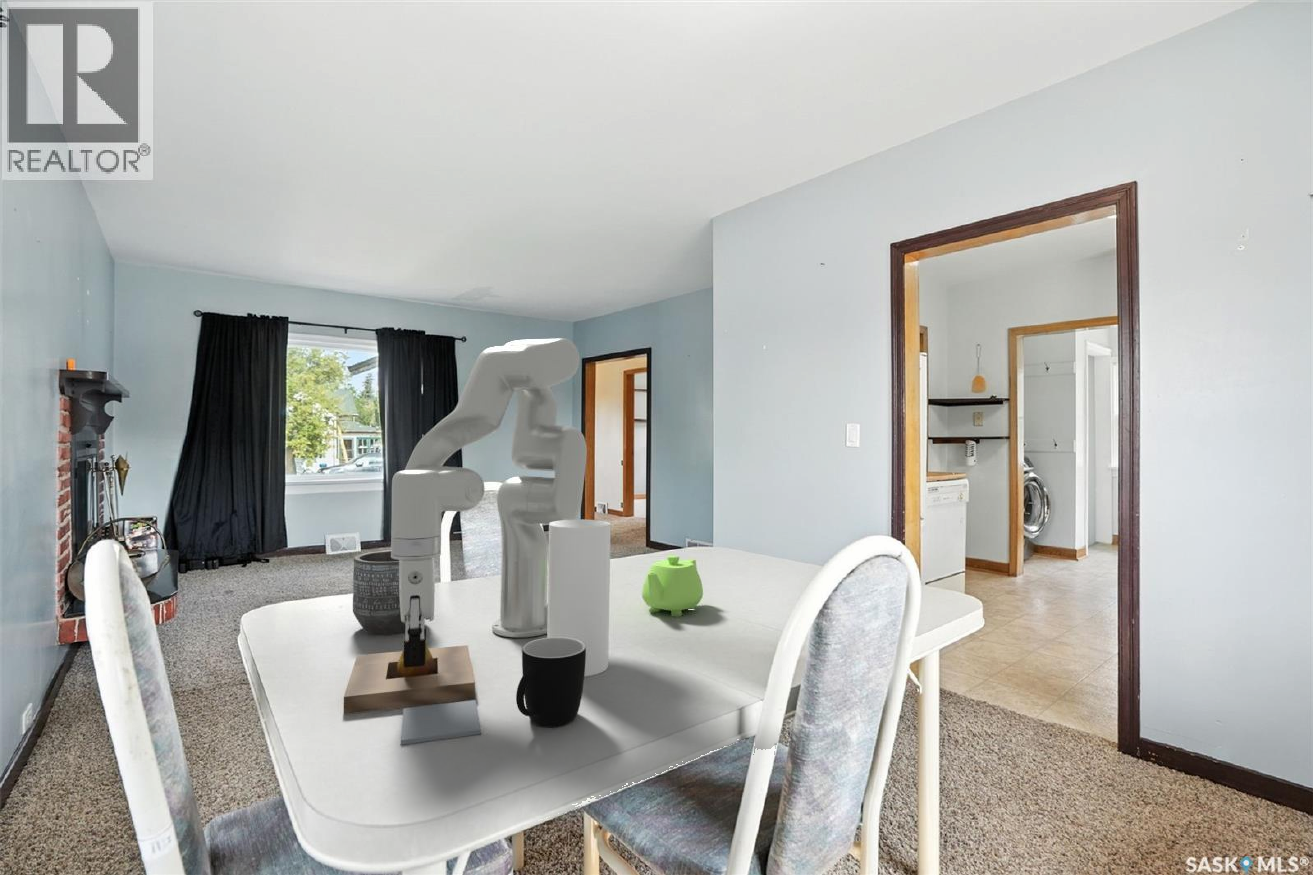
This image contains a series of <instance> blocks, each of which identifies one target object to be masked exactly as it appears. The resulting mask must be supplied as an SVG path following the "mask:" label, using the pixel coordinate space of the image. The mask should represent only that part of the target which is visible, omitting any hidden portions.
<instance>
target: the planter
mask: <svg viewBox="0 0 1313 875" xmlns="http://www.w3.org/2000/svg"><path fill="white" fill-rule="evenodd" d="M352 578H353V579H352V580H353V581H352V588H353V590H352V591H353V593H352V612H353V615H354V616H355V619H356V620H357V622H358V623H359V625H360V626H361V628H362V629H363V630H364V631H365V632H366V633H368V634H370V635H371V634H372V635H384V636H385V635H395V634H400V633H405V630H406V624H405V623H403V622H402V621H401V614H400V600H399V560H397V559H393V558H391V549H387V550H377V551H369V552H363V553H360V554H358V555H355V556H354V558H353V576H352ZM405 622H406V621H405Z"/></svg>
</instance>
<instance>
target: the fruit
mask: <svg viewBox="0 0 1313 875" xmlns="http://www.w3.org/2000/svg"><path fill="white" fill-rule="evenodd" d="M424 618H425V617H424ZM419 627H420V628H421V625H420V624H419ZM420 637H421V634H420ZM424 639H425V637H424ZM420 640H421V638H420ZM429 649H430V648H429V646H428V644H427V643H426V656H425V665H424V666H416V667H404V648H403V649H402V651H403V652H402V654H401V656H400V658H399V661H398V664H397V674H398V677H397V678H404V677H414V676H423V675H433V673H432V671H433V667H434V661H433V657H432V654H431V652H430V650H429Z"/></svg>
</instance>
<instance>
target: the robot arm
mask: <svg viewBox="0 0 1313 875" xmlns="http://www.w3.org/2000/svg"><path fill="white" fill-rule="evenodd" d="M579 365H580V353H579V350H578V348H577V346H576V345H575V344H574V343H573V341H571V340H570V339H569V338H568V339H567V338H565V337H564V338H562V337H561V338H559V337H558V338H556V337H554V338H533V339H532V338H531V339H519V340H512V341H510V342H507V343H505V344H504V345H502V346H493V347H488V348H486V349H484V350H483V351H482V352H480V354H479V355H478V357H477V359H476V360H475V363H474V364H473V367H472V369H471V372H470V375H469V376H468V379H467V381H466V384H465V385H464V388H463V390H462V393H461V395H460V397H459V400H458V402H457V404H456V406H455V407H454V410H453V411H452V412H450V413H449V414H448V415H447V416H444V418H443V419H441V420H440V421H439V422H438V423H436V425H434V427H432V428H431V429H430V430H429V431H428V432H426V434H424V436H422V437H421V439H420V440H419V441H418V442H417V444H416V445H415V446H414V449H413V450H412V453H411V455H410V457H409V460H408V461H407V464H406V466H405V468H404V470H399V471H397V472H395V473H394V474H393V477H392V480H391V524H390V525H391V526H390V529H391V530H390V536H391V537H390V540H391V541H390V550H391V558H393V559H397V560H399V600H400V614H401V621H402V622H403V623H405V624H406V630H405V632H404V634H405V635H404V638H405V639H404V641H403V649H404V667H416V666H424V665H425V656H426V644H427V628H426V627H425V623H426V622H425V621H426V620H427V621H429V622H432V621H434V619H435V587H436V586H435V584H436V583H435V579H436V578H435V575H436V570H435V568H436V567H435V558H438V557H441V555H442V513H443V512H466V511H469V510H472V509H474V508H475V507H476V506H477V505H478V504H480V502H481V501H482V499H483V497H484V494H485V490H486V489H485V483H484V480H483V477H482V476H481V475H480V474H479V473H478V472H477V471H475V470H473V469H471V468H467V467H463V466H462V467H458V466H447V465H446V466H444V464H445V463H446V461H447V460H448V459H449V458H450V457H451V456H452V455H453V454H455V453H456V452H457V451H459V450H461V449H462V448H464V447H466V446H468V445H470V444H472V443H476V442H478V441H480V440H483V439H485V438H486V437H489V436H491V435H493V434H494V433H495V432H497V431H498V430H499V428H500V426H501V424H502V421H503V419H504V417H505V414H506V411H507V409H508V406H509V404H510V402H511V399H512V397H513V394H514V395H515V398H516V411H515V419H514V428H513V436H512V442H511V460H512V463H513V464H514V466H516V467H517V468H519V469H522V470H527V471H535V472H536V471H539V472H541V471H543V472H554V477H543V476H529V475H528V476H527V475H525V476H524V475H522V476H521V475H520V476H518V475H517V476H513V477H510V478H508V479H506V480H505V481H504V482H502V483H501V485H500V486H499V488H498V491H497V495H496V503H497V511H498V516H499V521H500V534H501V535H500V536H501V546H500V547H501V550H500V552H501V556H500V558H501V563H500V564H501V565H500V567H501V568H500V614H499V615H500V616H499V617H500V619H497V620H495V621H494V622H493V623H492V626H491V627H492V628H491V629H492V632H493V633H494V634H496V635H498V636H502V637H505V638H506V637H507V638H531V637H538V636H542V635H545V634H546V635H547V621H548V561H549V540H548V538H547V534H546V533H545V531H544V529H543V527H542V525H549V523H551V522H554V521H560V520H574V519H577V518H578V517H579V514H580V510H581V507H582V500H583V492H584V485H585V484H584V482H585V474H586V467H587V466H586V465H587V454H588V453H587V452H588V450H587V443H586V439H585V436H584V434H583V433H582V432H581V430H579V429H578V428H577V427H574V426H570V425H557V416H558V415H557V414H558V402H557V400H556V399H557V398H556V397H555V395H554V393H553V391H552V390H551V387H553V386H557V385H559V384H561V383H564V382H566V381H568V380H571V378H573V377H574V375H576V373H577V371H578V369H579ZM424 617H425V618H424ZM405 621H406V622H405ZM419 624H420V625H421V628H420V627H419ZM420 634H421V637H420ZM424 637H425V639H424ZM420 638H421V640H420Z"/></svg>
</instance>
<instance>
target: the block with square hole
mask: <svg viewBox="0 0 1313 875" xmlns="http://www.w3.org/2000/svg"><path fill="white" fill-rule="evenodd" d="M428 649H429V650H430V652H431V654H432V657H433V661H434V667H433V671H432V674H431V675H423V676H414V677H404V678H399V677H398V674H397V664H398V661H399V658H400V656H401V654H402V652H403V650H401V651H390V652H389V651H388V652H380V653H379V652H378V653H368V654H358V655H356V657H355V661H354V664H353V667H352V670H351V673H350V676H349V679H348V682H347V686H346V689H345V691H344V695H343V715H348V714H349V715H350V714H357V713H369V712H374V711H375V712H376V711H384V710H389V709H390V710H391V709H399V708H400V709H401V708H411V707H419V706H427V705H436V704H444V703H453V702H461V701H469V700H476V699H475V698H476V697H475V696H476V694H475V692H476V691H475V689H476V688H475V687H476V682H475V676H474V670H473V666H472V660H471V655H470V649H469V645H468V644H467V645H456V646H446V647H445V646H443V647H434V648H428Z"/></svg>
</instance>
